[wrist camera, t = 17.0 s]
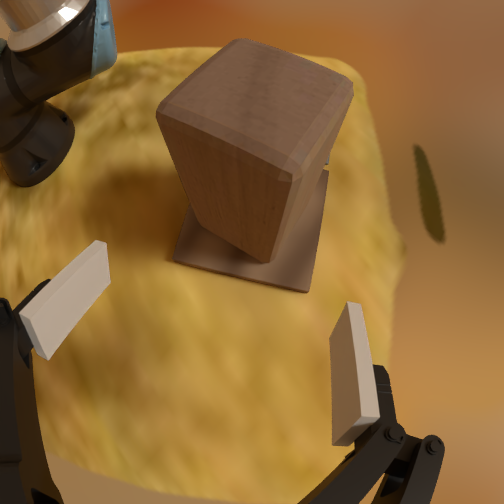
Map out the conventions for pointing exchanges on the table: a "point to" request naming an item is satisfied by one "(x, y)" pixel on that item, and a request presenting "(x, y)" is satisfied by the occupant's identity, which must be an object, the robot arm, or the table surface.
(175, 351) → the table surface
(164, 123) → the wooden block
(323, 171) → the walnut board
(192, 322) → the table surface
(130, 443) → the table surface
